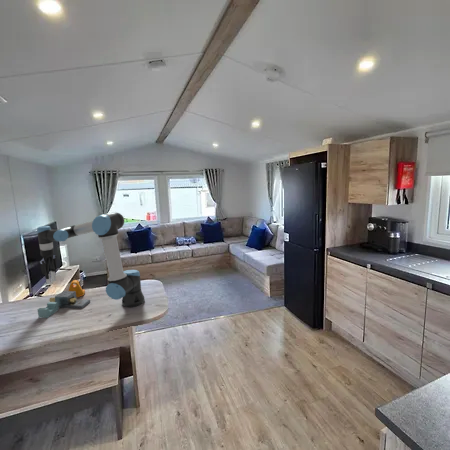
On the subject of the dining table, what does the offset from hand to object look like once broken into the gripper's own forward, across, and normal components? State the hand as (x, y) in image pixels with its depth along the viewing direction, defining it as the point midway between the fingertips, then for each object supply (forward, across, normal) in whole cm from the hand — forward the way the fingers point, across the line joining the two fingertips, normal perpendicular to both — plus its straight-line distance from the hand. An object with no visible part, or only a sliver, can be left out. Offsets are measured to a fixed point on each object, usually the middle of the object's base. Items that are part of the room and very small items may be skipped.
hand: (51, 281), depth 186 cm
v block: (+17, +12, +6) cm, 22 cm away
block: (+17, 0, +14) cm, 22 cm away
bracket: (+17, -14, +6) cm, 23 cm away
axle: (+15, 0, +7) cm, 16 cm away
